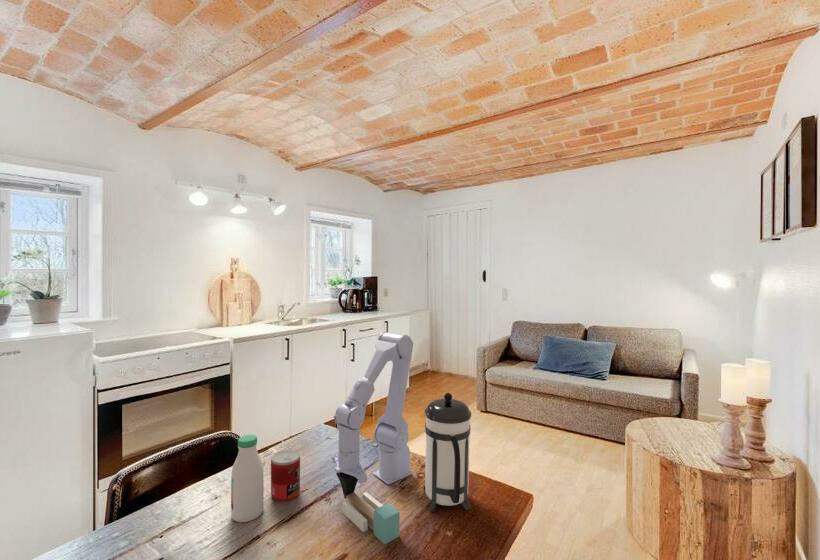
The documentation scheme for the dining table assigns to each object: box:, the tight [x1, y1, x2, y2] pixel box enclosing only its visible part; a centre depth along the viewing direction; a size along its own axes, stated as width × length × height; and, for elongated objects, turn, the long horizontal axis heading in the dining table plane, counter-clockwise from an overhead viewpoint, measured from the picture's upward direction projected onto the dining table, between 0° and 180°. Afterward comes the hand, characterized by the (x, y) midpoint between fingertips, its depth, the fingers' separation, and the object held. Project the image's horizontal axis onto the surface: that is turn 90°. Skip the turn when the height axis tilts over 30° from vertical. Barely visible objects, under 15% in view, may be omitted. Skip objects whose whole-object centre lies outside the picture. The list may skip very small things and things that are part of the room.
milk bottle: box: [230, 434, 265, 523], centre depth 99 cm, size 8×8×20 cm
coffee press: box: [423, 392, 472, 513], centre depth 105 cm, size 17×16×30 cm
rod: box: [345, 491, 375, 532], centre depth 99 cm, size 3×14×3 cm, turn 41°
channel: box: [341, 491, 384, 533], centre depth 99 cm, size 8×10×2 cm
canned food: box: [270, 449, 301, 503], centre depth 108 cm, size 8×8×11 cm
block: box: [373, 502, 401, 545], centre depth 92 cm, size 4×4×6 cm
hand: (348, 497), depth 105 cm, fingers closed
